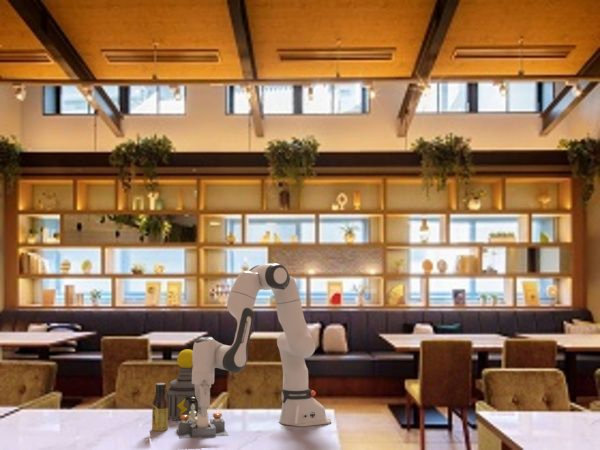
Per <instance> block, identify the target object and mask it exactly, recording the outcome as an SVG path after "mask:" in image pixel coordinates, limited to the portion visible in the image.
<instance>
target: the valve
mask: <svg viewBox="0 0 600 450" xmlns="http://www.w3.org/2000/svg"><path fill="white" fill-rule="evenodd" d="M185 399H186V400H188V401H189V403H191V404H192V406H191V412H189V415H190V418H189V419H188V420H191V422H192V424H197V416H195V415H196V412H195V410H194V409H195V406H194V403H196V402H197V399H196V396H189V397H185Z"/></svg>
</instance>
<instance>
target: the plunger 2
mask: <svg viewBox="0 0 600 450" xmlns="http://www.w3.org/2000/svg"><path fill="white" fill-rule="evenodd" d="M222 416H223V413H221V412H213V414H212V418H213V419H214V421H221V419H222Z"/></svg>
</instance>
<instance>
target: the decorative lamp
mask: <svg viewBox="0 0 600 450" xmlns="http://www.w3.org/2000/svg"><path fill="white" fill-rule="evenodd" d="M192 355H193V349H189V348H188V349H186V348H185V349H183V350H181V351H180V352H179V354H178V356H177V357H176V358H177V360H176V361H177V364H178V366H179V372H178V374H177V375H178V376H177V378H176V379H173V380H171V381H170V382H169V383H168V384H169V387H168V388H167V390H166V391H165V395H166V397H167V399H168V420H171V419H172V420H171V421H177V420H178V421H182V419H180V416H181V415H189V412H191V406H192V404H191V403H189V401H188V400H186V399H185V397H189V396H195V384H192V369H193V361H192ZM194 406H195V409H194V410H195V412H196V415H195V416H197V413H199V411H198V409H199V407H198V401H197V402H196V403H194ZM207 410H209V409H208V407H207ZM178 421H177V422H178Z"/></svg>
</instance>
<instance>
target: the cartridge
mask: <svg viewBox="0 0 600 450" xmlns="http://www.w3.org/2000/svg"><path fill="white" fill-rule="evenodd" d="M209 423H210V419H209V412H208V410H207V411H206V417H201V410H199V413H197V423H196V424H197V428H208V427H209Z"/></svg>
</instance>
